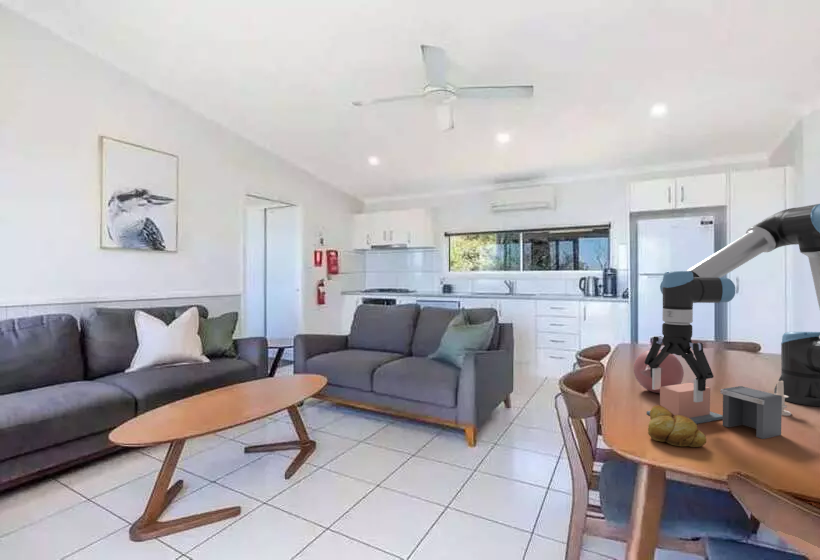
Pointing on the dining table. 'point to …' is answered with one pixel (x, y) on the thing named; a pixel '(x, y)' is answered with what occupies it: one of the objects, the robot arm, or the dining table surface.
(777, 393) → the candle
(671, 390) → the salmon pink rectangular block
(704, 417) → the mat
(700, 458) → the dining table surface
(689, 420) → the bread roll
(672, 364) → the balloon
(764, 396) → the box
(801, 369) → the robot arm
